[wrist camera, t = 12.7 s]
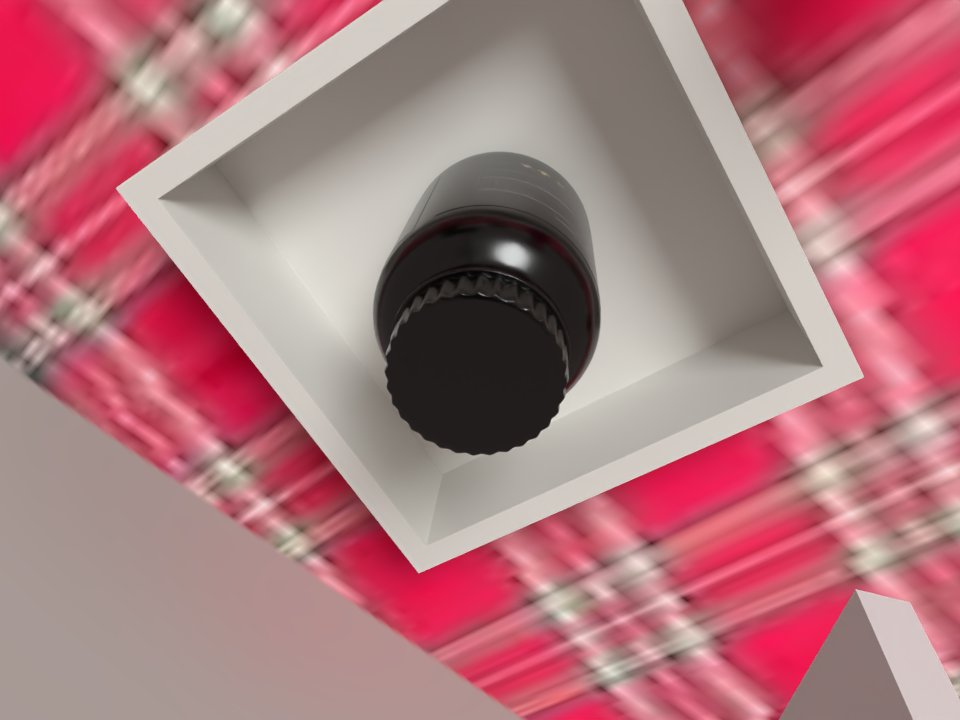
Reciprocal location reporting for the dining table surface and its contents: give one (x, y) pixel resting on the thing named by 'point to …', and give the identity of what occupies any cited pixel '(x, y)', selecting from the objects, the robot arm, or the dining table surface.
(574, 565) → the dining table surface
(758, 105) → the dining table surface
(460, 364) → the supplement bottle
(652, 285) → the bin
